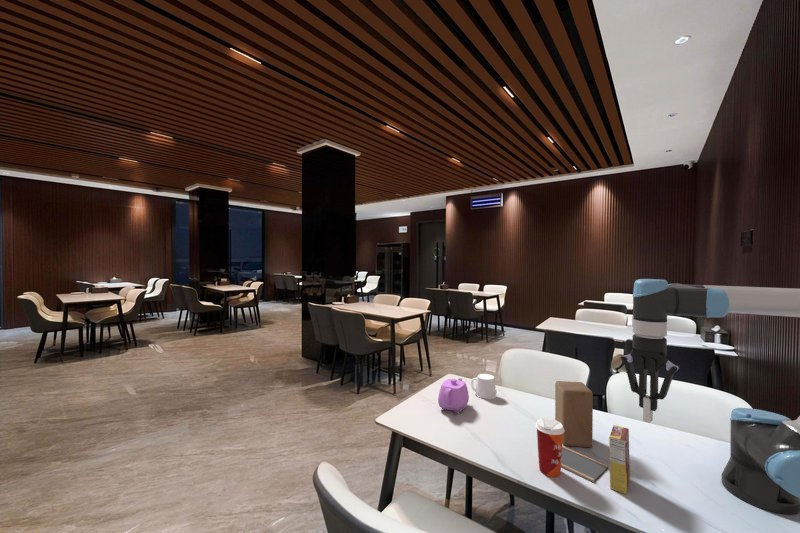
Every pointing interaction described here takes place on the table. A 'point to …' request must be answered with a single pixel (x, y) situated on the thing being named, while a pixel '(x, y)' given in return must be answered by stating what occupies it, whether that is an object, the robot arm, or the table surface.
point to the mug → (485, 386)
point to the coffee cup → (549, 446)
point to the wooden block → (574, 412)
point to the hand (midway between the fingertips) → (647, 420)
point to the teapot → (453, 395)
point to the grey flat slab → (582, 465)
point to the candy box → (619, 459)
